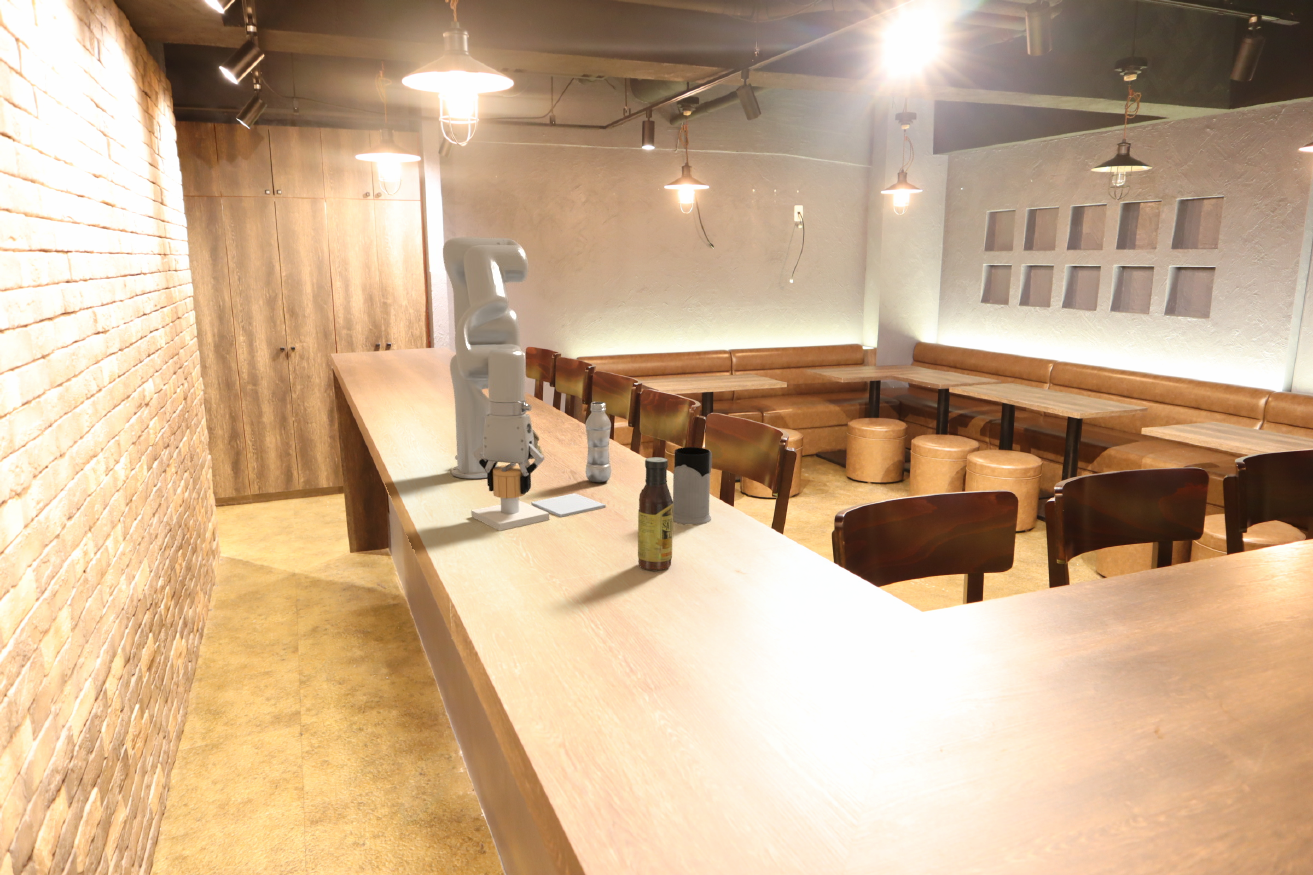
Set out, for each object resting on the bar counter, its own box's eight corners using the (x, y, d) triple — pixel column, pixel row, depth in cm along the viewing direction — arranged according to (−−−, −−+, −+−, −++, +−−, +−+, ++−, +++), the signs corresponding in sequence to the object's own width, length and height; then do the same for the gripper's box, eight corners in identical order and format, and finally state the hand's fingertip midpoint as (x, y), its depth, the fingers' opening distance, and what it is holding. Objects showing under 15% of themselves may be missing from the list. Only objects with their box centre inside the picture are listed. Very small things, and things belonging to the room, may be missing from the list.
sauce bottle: (668, 573, 147) (670, 465, 143) (634, 570, 148) (634, 462, 144) (675, 561, 153) (676, 456, 149) (642, 558, 154) (643, 454, 150)
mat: (531, 504, 188) (531, 502, 187) (575, 495, 195) (574, 493, 195) (560, 517, 179) (560, 514, 179) (605, 507, 186) (605, 504, 186)
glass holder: (663, 520, 177) (664, 452, 174) (691, 504, 189) (693, 440, 186) (700, 527, 173) (702, 457, 170) (727, 510, 185) (729, 444, 182)
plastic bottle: (613, 478, 211) (613, 401, 207) (609, 485, 204) (609, 405, 200) (588, 477, 212) (587, 400, 208) (583, 484, 205) (582, 405, 201)
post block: (471, 516, 178) (470, 478, 176) (519, 506, 186) (519, 470, 184) (499, 530, 169) (498, 490, 167) (549, 519, 177) (548, 481, 175)
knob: (501, 488, 180) (500, 460, 179) (529, 490, 179) (529, 463, 178) (488, 496, 174) (487, 468, 173) (517, 499, 173) (516, 470, 171)
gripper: (552, 408, 174) (553, 489, 178) (477, 403, 178) (479, 483, 182) (539, 414, 167) (540, 499, 171) (460, 409, 171) (463, 492, 175)
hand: (509, 490), depth 176 cm, fingers closed on knob, 6 cm apart
